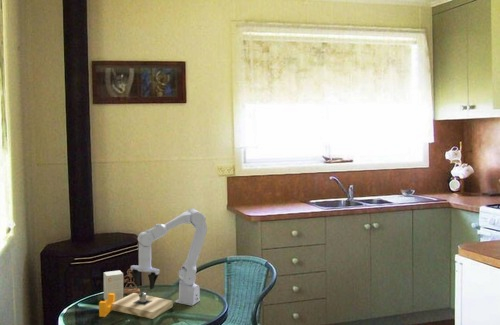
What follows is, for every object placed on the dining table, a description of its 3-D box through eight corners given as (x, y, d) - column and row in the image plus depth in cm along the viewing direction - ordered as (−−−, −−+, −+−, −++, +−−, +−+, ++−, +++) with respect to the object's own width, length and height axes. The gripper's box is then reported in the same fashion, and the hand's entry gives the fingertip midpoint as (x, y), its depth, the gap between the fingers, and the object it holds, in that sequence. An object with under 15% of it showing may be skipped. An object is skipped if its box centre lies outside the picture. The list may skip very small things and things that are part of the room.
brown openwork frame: (121, 294, 251) (121, 270, 250) (121, 291, 255) (121, 267, 254) (139, 292, 254) (140, 269, 252) (139, 290, 257) (139, 267, 256)
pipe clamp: (106, 306, 235) (106, 292, 234) (115, 307, 235) (115, 293, 234) (95, 316, 223) (95, 302, 223) (104, 317, 223) (104, 302, 222)
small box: (120, 296, 249) (120, 269, 247) (123, 300, 243) (123, 273, 242) (103, 298, 245) (103, 271, 244) (106, 302, 239) (106, 275, 238)
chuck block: (172, 306, 236) (172, 300, 236) (152, 318, 222) (152, 312, 222) (133, 298, 245) (133, 292, 245) (111, 309, 231) (111, 303, 230)
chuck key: (148, 306, 236) (148, 291, 235) (142, 310, 230) (142, 295, 230) (143, 305, 237) (143, 290, 236) (136, 309, 231) (136, 294, 231)
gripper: (126, 258, 233) (126, 287, 234) (153, 262, 227) (153, 292, 228) (135, 254, 239) (135, 282, 241) (162, 258, 234) (161, 287, 235)
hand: (144, 287), depth 235 cm, fingers open, 7 cm apart
